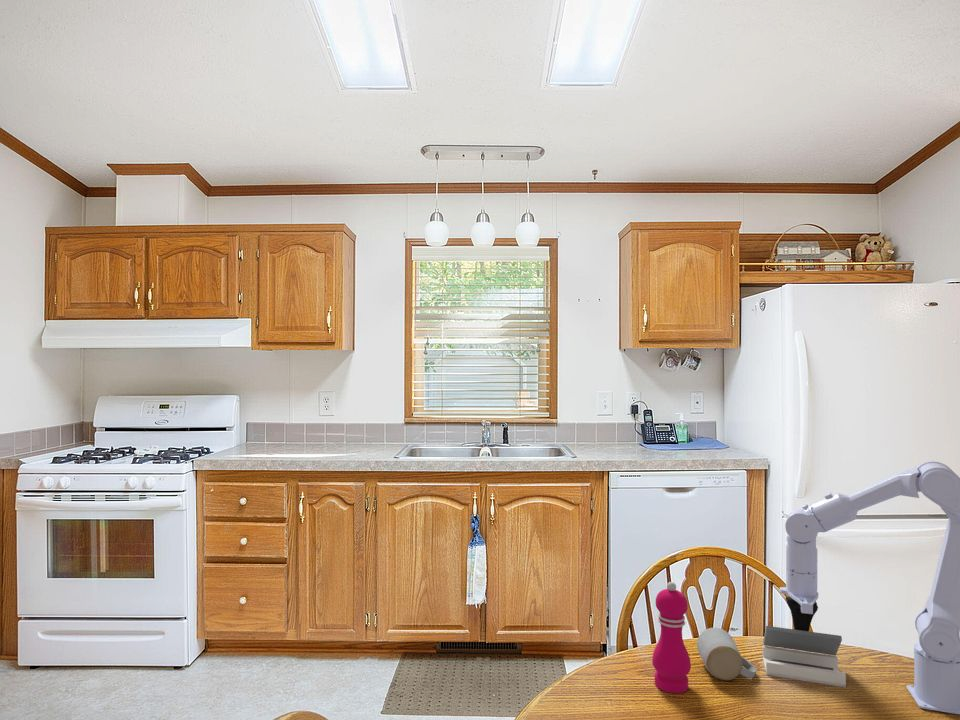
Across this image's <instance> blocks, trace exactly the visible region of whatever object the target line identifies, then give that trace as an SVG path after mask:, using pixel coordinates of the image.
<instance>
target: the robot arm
mask: <svg viewBox="0 0 960 720" xmlns="http://www.w3.org/2000/svg"><path fill="white" fill-rule="evenodd" d="M919 493H921V494H922V495H923V496H924V497H926V498H927V499H928V500H930V501H931V502H933V503H934V504H935V505H938V506H939V507H940V508H941V509H940V510H942V511H943V513H944V514H945V515H946V516H947V517H948V519H947V523H946V528H945V531H944V535H943V539H942V544H941V548H940V553H939V557H938V559H937V560H938V561H937V563H936V564H937V565H936V568H935V573H934V577H933V581H932V585H931V589H930V594H929V596H928V598H927V599H926V601H925V605H924V608H923V609H922V611H920V612H919V613H918V614H917V615H916V617H915V619H914V626H915V629H916V631H917V634H918V641H917V642H916V643H915V644H914V646H913V649H914V650H913V661H914V662H913V663H914V665H913V667H914V669H913V670H914V671H913V673H914V675H913V678H914V681H913V683H914V685H910V684H907V685H906V689H907V690H908V692H909V693H911V694H910V695H911V697H912V698H913V699H914V701H915V703H916V704H917V706H918V707H919V708H920V709H925V710H929V711H937V712H942V713H948V714H953V715H954V714H955V715H960V477H959V475H958V474H957V473H955V472H954V471H953V470H952V468H950V467H949V466H948V465H946V464H944V463H942V462H939V461H934V460H933V461H927V462H924V463H922V464H920V465H918V466H912V467H911V466H910V467H908V468H906V469H903V470H901V471H899V472H896V473H894V474H892V475H889V476H887V477H885V478H883V479H881V480H878V481H877V482H875V483H872V484H869V485H868V486H867V487H863V488H862V489H860V490H857V491H856V492H854V493H852V494H850V495H847V494H843V493H840V492H839V493H838V492H837V493H835V494H833V493H832V492H829V493H828V492H827V494H825V495H824V498H823V499H821V500H819V501H816V502H814V503H812V504H810V505H808V503H806V504H804V505H802V509H801V508H798V509H795V510H793V511H791V512H790V513H789V514H788V515H787V519H786V521H785V524H784V525H785V526H784V527H785V532H786V534H787V535H786V543H787V544H786V546H785V586H780V587H779V592H780V593H781V594H785V595H787V596H786V597H785V601H786V604H787V606H788V607H789V609H790V615H791V618H792V624H793V629H794V630H802V631H809V632H810V629H811V624H812V622H813V621H812V620H813V618H814V616H815V614H816V613H817V611H818V609H819V606H818V603H817V601H818V599H819V592H818V548H817V537H818V534H819V533H827V532H829V531H831V530H833V529H836V528H838V527H841V526H844V525H845V524H848V523H851V522H853V521H856V519H857V515H858V512H860V511H861V510H864V509H866V508H869V507H872V506H875V505H877V504H879V503H882V502H885V501H888V500H890V499H893V498H896V497H900V496H903V497H910V498H915V499H916V498H917V499H919V498H920V494H919Z"/></svg>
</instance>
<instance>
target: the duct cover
mask: <svg viewBox="0 0 960 720" xmlns="http://www.w3.org/2000/svg"><path fill="white" fill-rule="evenodd" d="M764 631H765V632H764V636H763V646H769V647H776V648H783V649H790V650H797V651H804V652H811V653H818V654H824V655H831V656H837V654H838V651H839V649H840V646H841V643H842V641H843V637H842V635H837V634H830V633H823V632H815V631H810V630H809V631H802V630H794V628H786V627H781V626H780V627H779V626H770V625H765V629H764Z"/></svg>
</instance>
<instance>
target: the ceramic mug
mask: <svg viewBox="0 0 960 720" xmlns="http://www.w3.org/2000/svg"><path fill="white" fill-rule="evenodd" d="M696 649H697V652H698V654H699V656H700V658H701V660H702V662H703V664H704V667H705V668H706V670H707V672H709V673H710V674H711V676H713V677H715V678H716V679H718V680H719V681H720V680H721V681H731V680H734V679H736V678H737V677H738V676H739V675H741V676H742V677H745V678H747V679H754V677H756V675H757V674H756V673H757V668H756V666H754V665H753V663H751V661H749V660H748V659H746V658H744V656H742V655H741V653H740V650H739V649H738V647H737V644H736V642H735V640H734V639H733V637H732V635H731V634H730V633H729V632H728V631H727V630H724V629H722V628H719V627H709V628H706V629H704V630H703V631H701V633H700V634H699V635H698V638H697V641H696Z"/></svg>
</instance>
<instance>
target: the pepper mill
mask: <svg viewBox="0 0 960 720" xmlns="http://www.w3.org/2000/svg"><path fill="white" fill-rule="evenodd" d="M688 606H689V605H688V600H687V597H686V596H685V594H683V593H682V592H681V591H680V590H677V585H676V583H675V582H673V581H669V582H668V583H667V584H666V588H665V589H662V590H660V591H659V592H658V593H657V594H656V597H655V607H656V609H657V610H658V613H657V617H658V619H657V620H658V623H659V624H660V634H659V635H660V636H659V639H658V641H657V643H656V645H655V647H654V649H653V653H652V659H651V663H652V666H653V668H654V670H655V672H654V685H655V686H656V687H657V688H658V689H660V690H661V691H662V692H663V691H664V692H665V693H671V694H682V693H683V694H684V693H685V692H686V691H688V689H689V677H688V676H687V675H688V674H689V673H690V671H691V669H692V666H691V658H690V655H689V653H688V650H687V648H686V645H685V644H684V639H683V627H684V626H685V625H686V621H685V620H686V617H685V614H686V613H687V612H688Z"/></svg>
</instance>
